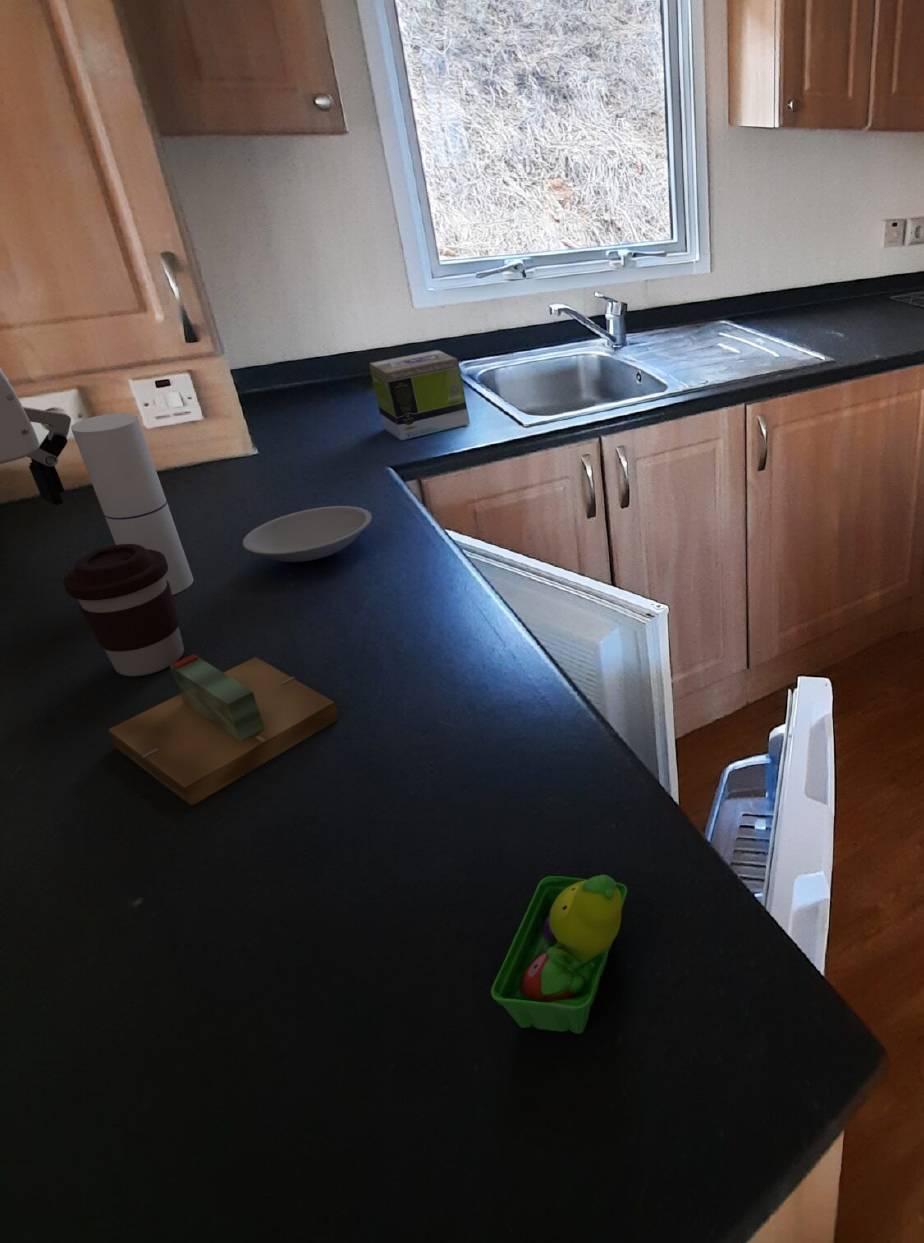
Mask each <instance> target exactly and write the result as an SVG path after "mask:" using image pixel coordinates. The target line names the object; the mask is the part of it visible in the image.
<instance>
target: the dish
mask: <svg viewBox="0 0 924 1243" xmlns="http://www.w3.org/2000/svg"><path fill="white" fill-rule="evenodd" d="M372 520H373V516H372V513H371V512H370V511H369V510H367V509H365V508H362V507H359V506H352V505H332V506H322V507H316V508H309V509H305V510H300V511H296V512H293V513H289V514H286V515H283V516H280V517H276V518H274V519H272V520H269V521H267V522H265V523H263V524H260V525H259V526H257V527H255V528H254V529H252V530H251V531H250V532H247V534H246V535H245V537H244V538H243V539H242V546H243V548H244V549H245V550H246V551H248V553H249V552H250V553H253V554H256V555H260V556H262V557H265V558H268V559H271V560H274V561H279V562H285V563H301V562H309V561H310V562H311V561H314V560H319V559H323V558H327V557H328V556H331V555H334V554H336V553H338V552H340V551H342V550H343V549H345V548H346V547H348V546H349V545H350V544H352V543H353V542H354V541H355V540H356V539H357V538H358V537H359V536H360V534H362V532H363V531H364V530H365V529H366V528H367V527H368V526H369V525H370V524H371V523H372Z"/></svg>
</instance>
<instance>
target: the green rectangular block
mask: <svg viewBox="0 0 924 1243" xmlns="http://www.w3.org/2000/svg"><path fill="white" fill-rule="evenodd" d="M169 668H170V671H171V673H172V676H173V679H174V681H175V684H176V686H177V689H178V692H179V694H181V697H182V700H183V702H184V703H185V704H187V705H188V706H190V707H191V708H193V709H194V710H196V711H197V712H199V713H200V714H201V715H203V716H204V717H206V718H207V719H209V720H210V721H212V722H213V723H215V724H216V725H217V726H219V727H220V728H222V729H223V730H225V731H226V732H228V733H229V734H231V735H232V736H233V737H235V738H236V739H238V740H239V741H243V740H245V739H247V738H248V737H250V736H252V735H254V734H256V733H257V732H259V731H261V730H263V729H265V727H264V724H263V721H262V718H261V715H260V712H259V709H258V706H257V703H256V700H255V697H254V694H253V691H251V690H250V689H248V688H247V687H245V686H243V685H242V684H240V683H239V682H237V681H235V680H234V679H232V678H231V677H229V676H227V675H226V674H224V672H222V671H221V670H219V669H218V668H216V667H214V666H213V665H211V663H208V661H205V660H204V659H202V658H201V657H199V656H198V655H195V654H194V653H193V654H190V655H188V656H186V657H184V658H182V659H179V660H178V661H177V662H175V663H173V664H171V666H169Z"/></svg>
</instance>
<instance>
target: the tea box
mask: <svg viewBox="0 0 924 1243" xmlns="http://www.w3.org/2000/svg"><path fill="white" fill-rule="evenodd" d="M368 366H369V372H370V375H371V380H372V383H373V384H372V385H373V388H374V392H375V397H376V401H377V405H378V406H377V407H378V410H379V414H380V419H381V422H382V426H383V428H384V430H386V431H387V432H388V433H390V434H391V435H392V436H394V437H395V438H396V439H398V440H399V441H405V440H409V439H414V438H417V437H421V436H425V435H429V434H435V433H438V432H442V431H446V430H450V429H454V428H458V427H462V426H467V425H470V424H471V422H470V417H469V412H468V405H467V400H466V394H465V390H464V384H463V380H462V374H461V369H460V364H459V359H458V358H456V357H454V356H451V355H450V354H447V353H445V352H443V351H441V350H439V349H434V350H430V351H425V352H419V353H414V354H410V355H404V356H399V357H393V358H389V359H384V360H378V361H373V362H369V364H368Z"/></svg>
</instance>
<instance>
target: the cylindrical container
mask: <svg viewBox="0 0 924 1243" xmlns="http://www.w3.org/2000/svg"><path fill="white" fill-rule="evenodd" d="M70 430H71V432H72V435H73V438H74V440H75V442H76V445H77V448H78V450H79V453H80V456H81V458H82V462H83V463H84V466H85V469H86V472H87V474H88V477H89V479H90V482H91V484H92V487H93V490H94V492H95V495H96V497H97V500H98V503H99V506H100V508H101V511H102V514H103V515H104V516H103V517H104V518H105V522H106V523H107V526H108V529H109V531H110V533H111V537H112V540H113V541H114V545H119V544H137V545H141V546H143V547H144V548H145V549H151V550H156V551H158V552H161V553H162V554H163V555H164V556H165V559H166V561H167V564H168V571H167V573H166V574H165V578H166V580H167V581H168V582H169V585H170V588H171V592H172V596H173V595H177V594H179V593H181V592H183V591H185V590H187V589H188V588H189V587H191V586H192V584H193V583H194V576H193V574H192V571H191V568H190V565H189V562H188V559H187V556H186V554H185V551H184V548H183V544H182V543H181V539H180V537H179V534H178V530H177V528H176V524H175V521H174V518H173V515H172V513H171V510H170V507H169V503H168V501H167V499H166V495H165V492H164V489H163V486H162V484H161V481H160V478H159V475H158V472H157V469H156V466H155V464H154V461H153V457H152V454H151V452H150V448H149V446H148V443H147V440H146V438H145V434H144V432H143V429H142V426H141V423H140V420H139V417H138V415H136V414H133V413H127V412H126V413H124V412H123V413H119V412H118V413H108V414H107V413H106V414H102V415H95V416H91V417H87V418H85V419H81V420H79V421H76V422H75V423H73V424H72V425H70Z"/></svg>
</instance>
